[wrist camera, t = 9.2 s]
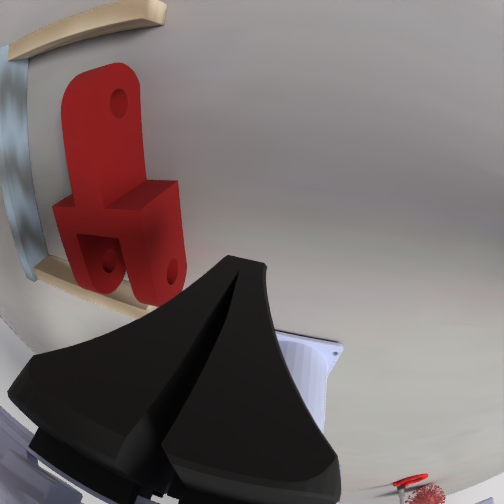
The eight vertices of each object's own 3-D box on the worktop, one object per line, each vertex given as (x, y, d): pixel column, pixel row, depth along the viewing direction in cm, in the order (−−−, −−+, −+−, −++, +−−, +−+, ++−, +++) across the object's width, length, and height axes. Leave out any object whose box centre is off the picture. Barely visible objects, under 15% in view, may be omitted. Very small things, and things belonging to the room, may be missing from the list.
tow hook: (419, 471, 44) (391, 482, 49) (421, 512, 33) (391, 521, 38) (432, 472, 46) (406, 482, 50) (435, 509, 35) (407, 518, 39)
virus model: (396, 492, 59) (395, 527, 47) (418, 483, 51) (417, 522, 39) (429, 487, 57) (429, 519, 45) (452, 476, 49) (453, 512, 37)
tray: (160, 303, 24) (144, 327, 21) (43, 262, 25) (26, 278, 23) (167, 4, 11) (141, -7, 9) (21, 47, 13) (-4, 50, 10)
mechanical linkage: (189, 279, 22) (163, 323, 18) (116, 266, 23) (84, 302, 19) (175, 57, 13) (127, 51, 9) (87, 77, 14) (35, 84, 10)
